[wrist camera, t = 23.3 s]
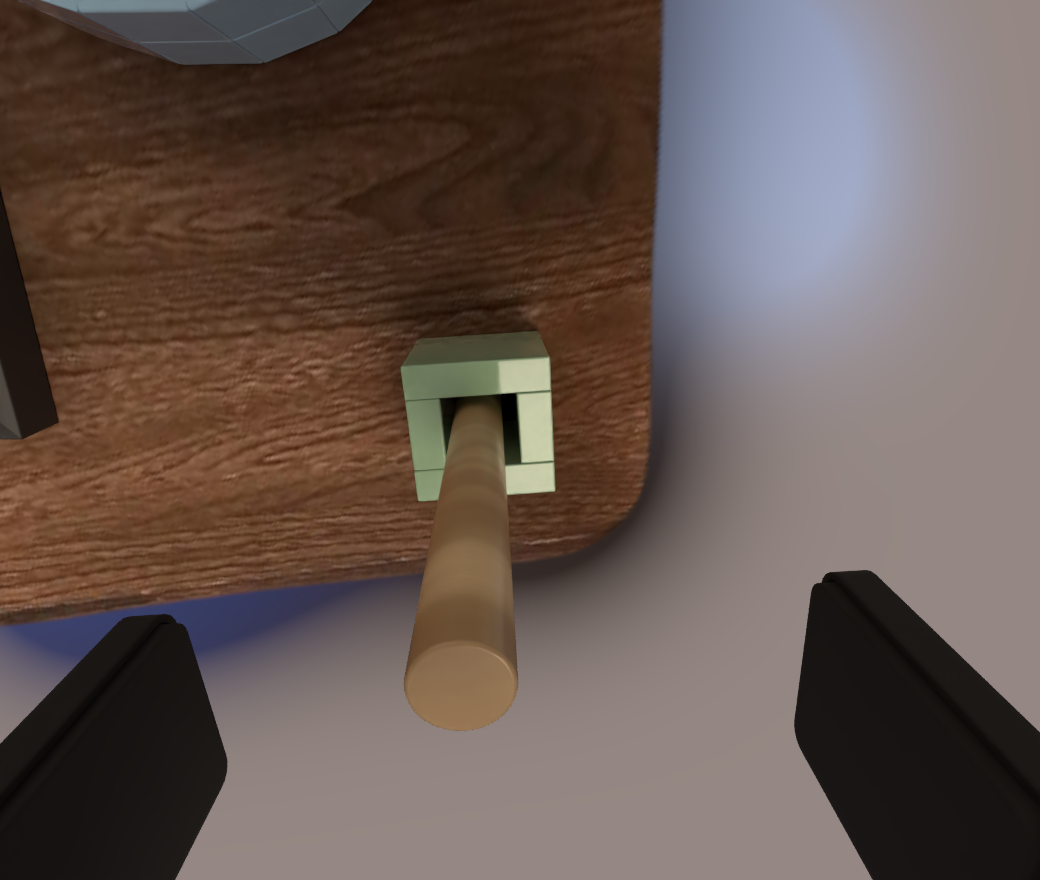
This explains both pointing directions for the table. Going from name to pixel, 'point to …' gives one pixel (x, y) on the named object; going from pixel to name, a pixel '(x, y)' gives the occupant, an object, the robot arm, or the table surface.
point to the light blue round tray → (207, 25)
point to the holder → (473, 372)
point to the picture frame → (19, 353)
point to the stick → (467, 583)
